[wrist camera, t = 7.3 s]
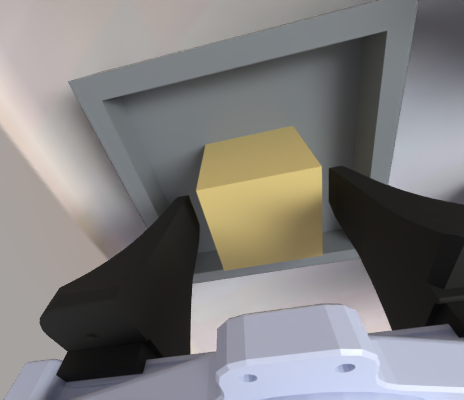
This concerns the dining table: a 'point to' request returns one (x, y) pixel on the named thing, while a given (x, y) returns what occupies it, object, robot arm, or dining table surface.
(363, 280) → the dining table surface
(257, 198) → the mustard block
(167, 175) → the tray
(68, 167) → the dining table surface
